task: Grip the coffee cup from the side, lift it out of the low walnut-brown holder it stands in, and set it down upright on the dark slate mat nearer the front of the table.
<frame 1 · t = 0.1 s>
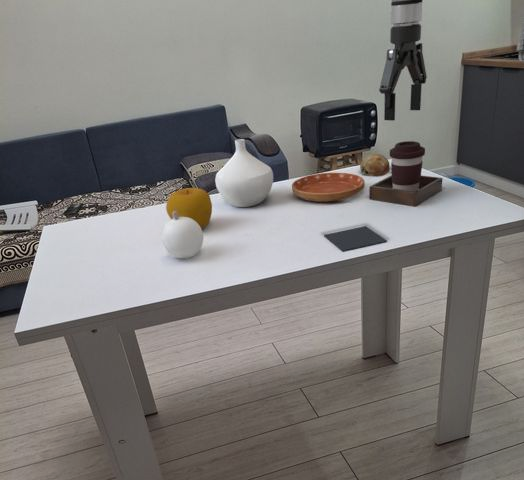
hand: (402, 115, 146), 24 cm above the table, tool pointing down, fingers open, 13 cm apart
coffee cup: (405, 196, 163), resting in holder
holder: (405, 195, 163), on the table
ornament: (186, 256, 140), on the table
mat: (354, 239, 138), on the table
bread roll: (375, 172, 187), on the table
apple: (193, 229, 157), on the table
saucer: (328, 194, 172), on the table
vase: (247, 202, 173), on the table
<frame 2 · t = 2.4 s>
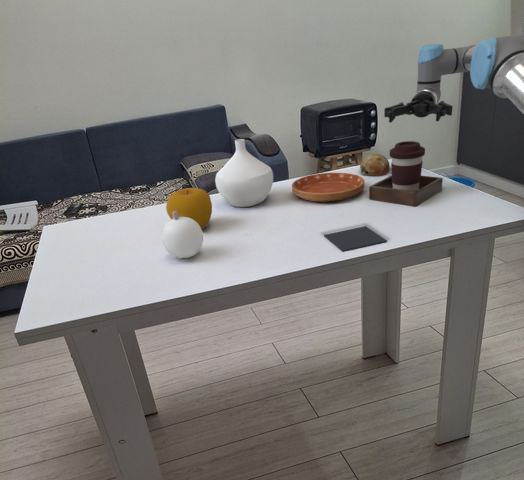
hand: (413, 117, 159), 20 cm above the table, tool horizontal, fingers open, 13 cm apart
nothing on the table moved.
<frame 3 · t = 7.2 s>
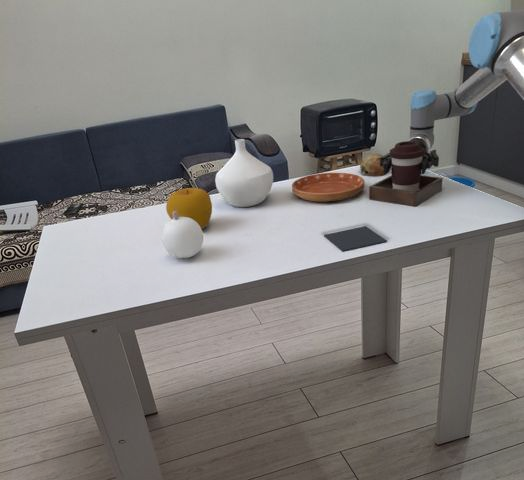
hand: (404, 169, 154), 9 cm above the table, tool horizontal, fingers closed on coffee cup, 10 cm apart
coffee cup: (405, 195, 163), resting in holder, touching gripper
everything else where it was.
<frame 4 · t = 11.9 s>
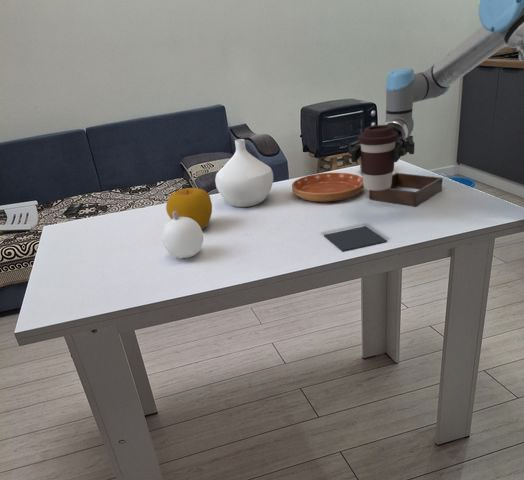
hand: (374, 156, 135), 18 cm above the table, tool horizontal, fingers closed on coffee cup, 10 cm apart
coffee cup: (377, 187, 143), point 9 cm above the table, touching gripper
everything else where it was.
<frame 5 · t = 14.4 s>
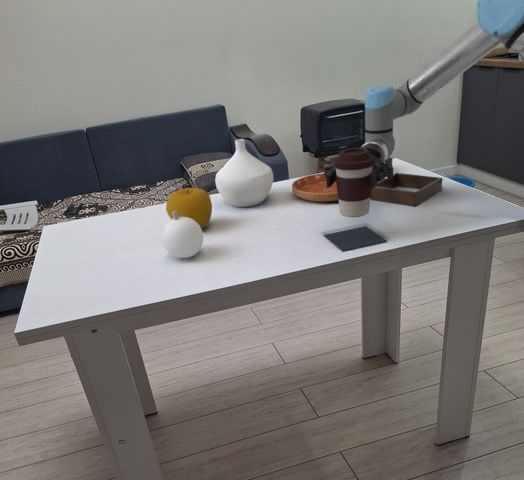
hand: (349, 182, 126), 16 cm above the table, tool horizontal, fingers closed on coffee cup, 10 cm apart
coffee cup: (354, 213, 135), point 7 cm above the table, touching gripper
everything else where it was.
when the fingers open (9 cm above the table, at t = 16.6 s): coffee cup stays where it is, resting on mat.
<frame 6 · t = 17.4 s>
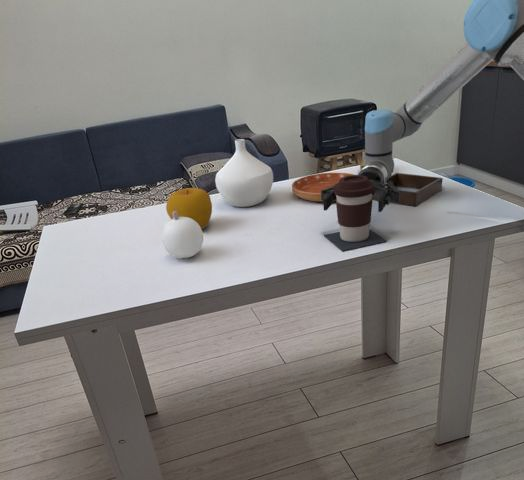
hand: (351, 205, 130), 10 cm above the table, tool horizontal, fingers open, 13 cm apart
coffee cup: (354, 238, 138), resting on mat
everything else where it was.
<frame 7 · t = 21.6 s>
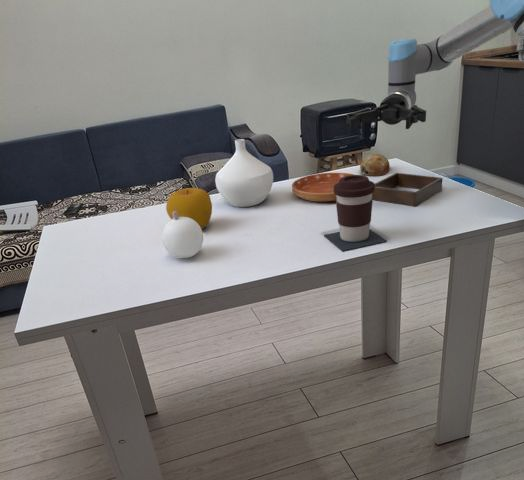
hand: (379, 124, 132), 25 cm above the table, tool horizontal, fingers open, 13 cm apart
nothing on the table moved.
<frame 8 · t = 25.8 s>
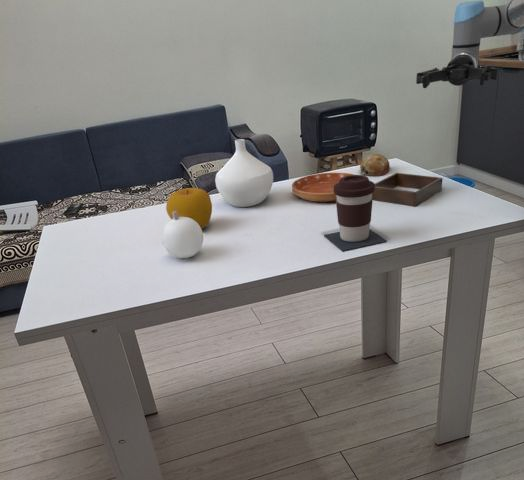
hand: (452, 80, 134), 32 cm above the table, tool horizontal, fingers open, 13 cm apart
nothing on the table moved.
at the end: coffee cup inside the target area on the mat (0.0 cm from its centre), point 0.2 cm above the mat's base; coffee cup tilted 0°; coffee cup touching mat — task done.
